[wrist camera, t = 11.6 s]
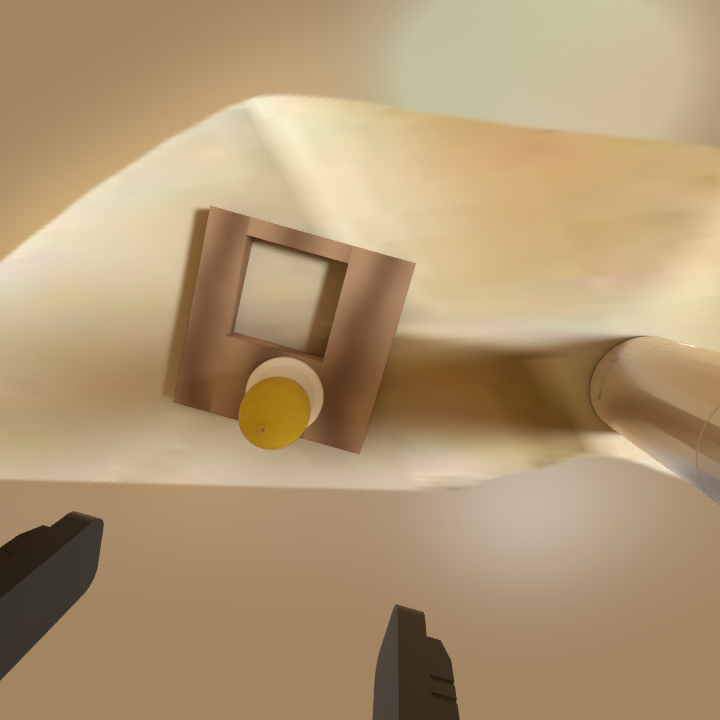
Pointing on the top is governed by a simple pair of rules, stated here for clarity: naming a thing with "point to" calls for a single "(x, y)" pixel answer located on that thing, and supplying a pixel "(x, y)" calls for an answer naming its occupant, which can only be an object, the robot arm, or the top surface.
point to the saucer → (296, 372)
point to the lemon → (274, 413)
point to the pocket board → (244, 354)
